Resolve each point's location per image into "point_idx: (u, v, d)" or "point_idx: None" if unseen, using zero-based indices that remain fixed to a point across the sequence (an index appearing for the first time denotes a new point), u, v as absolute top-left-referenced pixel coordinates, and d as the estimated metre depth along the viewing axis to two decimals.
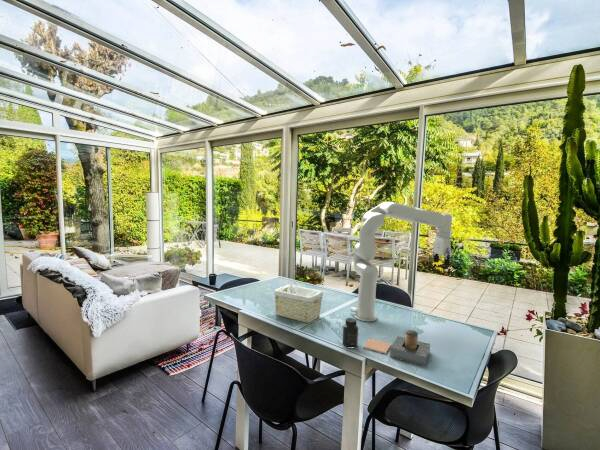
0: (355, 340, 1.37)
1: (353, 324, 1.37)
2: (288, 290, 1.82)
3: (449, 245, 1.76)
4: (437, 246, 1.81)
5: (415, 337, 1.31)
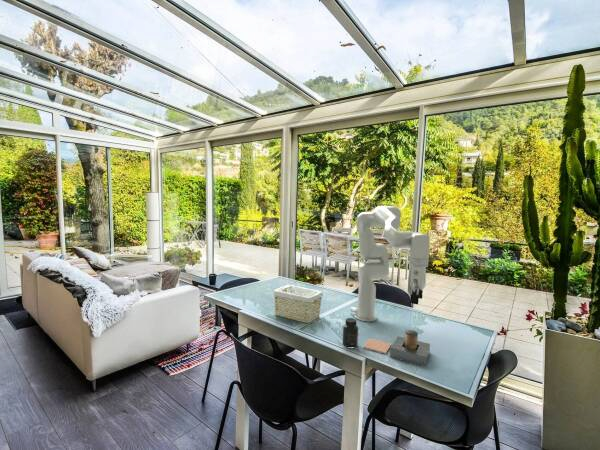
0: (355, 340, 1.37)
1: (353, 324, 1.37)
2: (288, 290, 1.81)
3: None
4: (424, 279, 1.33)
5: (415, 337, 1.31)
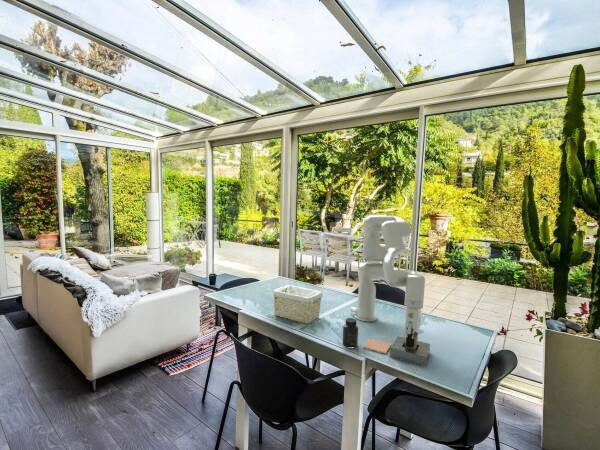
0: (355, 340, 1.37)
1: (353, 324, 1.37)
2: (287, 290, 1.81)
3: None
4: (419, 320, 1.31)
5: (415, 337, 1.31)
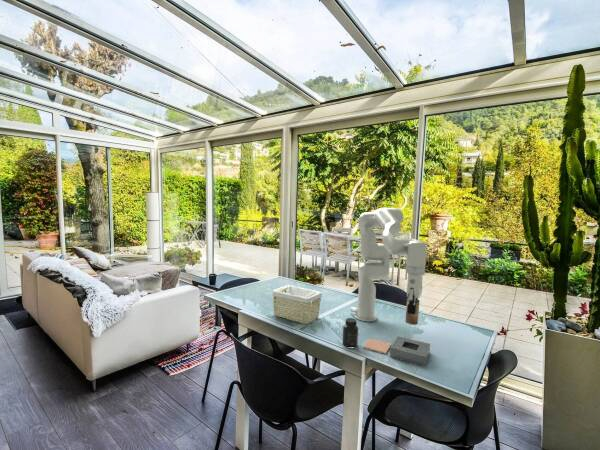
0: (355, 340, 1.37)
1: (353, 324, 1.37)
2: (287, 291, 1.80)
3: None
4: (421, 287, 1.31)
5: (417, 304, 1.30)
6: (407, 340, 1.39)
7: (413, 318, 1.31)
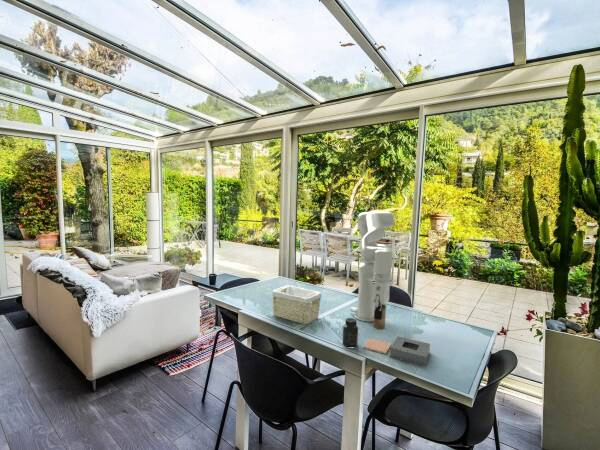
0: (355, 340, 1.37)
1: (353, 324, 1.37)
2: (287, 291, 1.80)
3: None
4: (387, 293, 1.37)
5: (383, 310, 1.36)
6: (407, 340, 1.39)
7: (380, 323, 1.37)
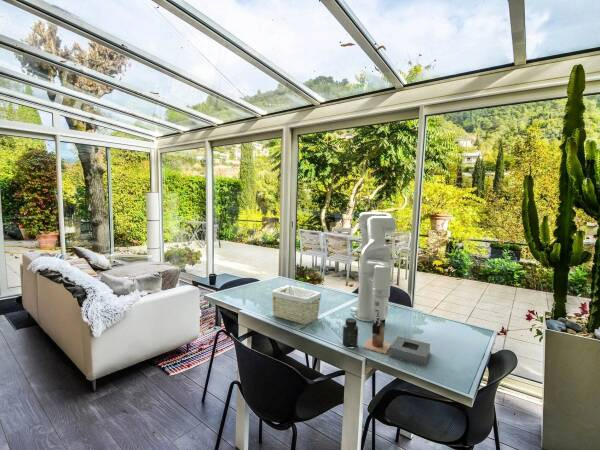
0: (355, 340, 1.37)
1: (353, 324, 1.37)
2: (286, 291, 1.80)
3: None
4: (386, 309, 1.37)
5: (382, 328, 1.37)
6: (407, 340, 1.39)
7: (379, 341, 1.38)
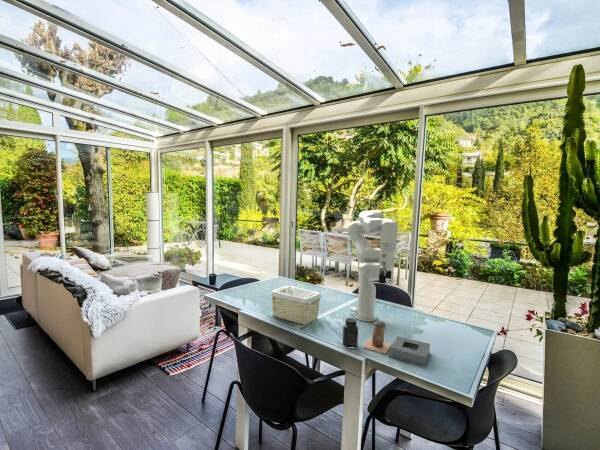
0: (355, 340, 1.37)
1: (353, 324, 1.37)
2: (286, 291, 1.79)
3: None
4: (392, 261, 1.48)
5: (382, 328, 1.37)
6: (407, 340, 1.39)
7: (378, 341, 1.38)
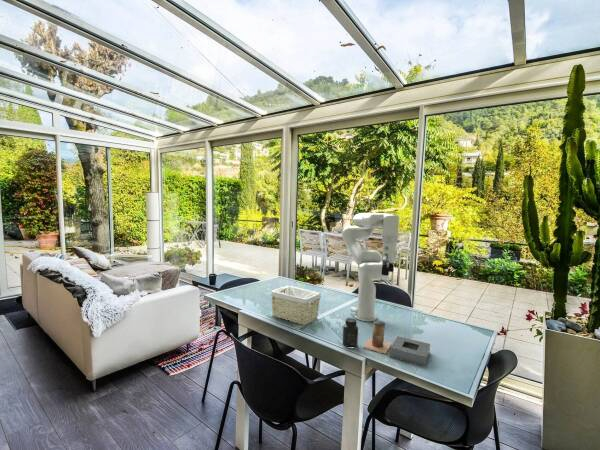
0: (355, 340, 1.37)
1: (353, 324, 1.37)
2: (286, 291, 1.79)
3: None
4: (394, 254, 1.52)
5: (381, 327, 1.38)
6: (407, 340, 1.39)
7: (378, 340, 1.38)
